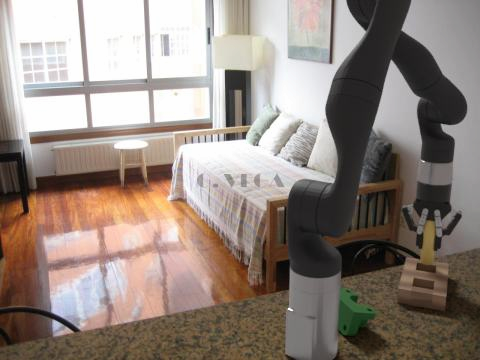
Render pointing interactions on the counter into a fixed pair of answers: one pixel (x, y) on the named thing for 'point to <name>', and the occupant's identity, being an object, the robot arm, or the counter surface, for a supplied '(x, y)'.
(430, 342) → the counter surface
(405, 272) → the hole block
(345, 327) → the clamp
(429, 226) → the peg
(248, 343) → the counter surface
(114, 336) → the counter surface
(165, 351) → the counter surface
